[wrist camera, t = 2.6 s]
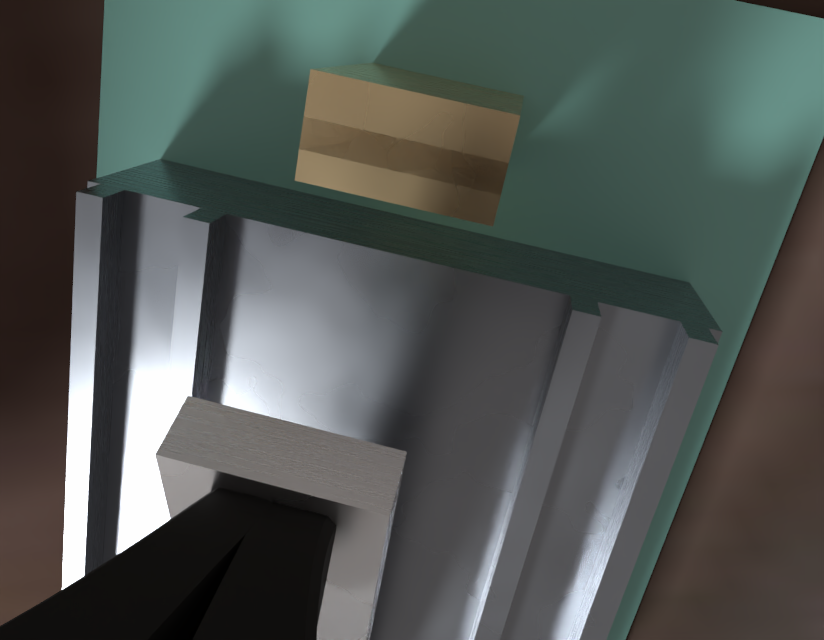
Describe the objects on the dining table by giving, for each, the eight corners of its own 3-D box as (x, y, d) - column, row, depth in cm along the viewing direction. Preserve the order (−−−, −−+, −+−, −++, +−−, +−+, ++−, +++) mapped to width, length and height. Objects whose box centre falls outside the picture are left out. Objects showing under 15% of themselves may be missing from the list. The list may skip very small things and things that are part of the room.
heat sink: (125, 623, 22) (24, 767, 18) (171, 18, 16) (35, 7, 12) (529, 736, 21) (528, 916, 17) (739, 143, 15) (823, 182, 11)
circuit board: (81, 712, 24) (71, 728, 24) (125, -123, 16) (110, -129, 15) (537, 844, 23) (537, 863, 23) (854, 28, 15) (866, 27, 14)
